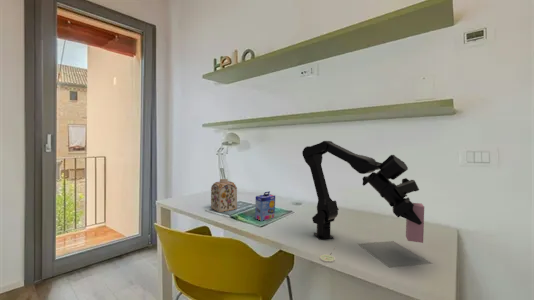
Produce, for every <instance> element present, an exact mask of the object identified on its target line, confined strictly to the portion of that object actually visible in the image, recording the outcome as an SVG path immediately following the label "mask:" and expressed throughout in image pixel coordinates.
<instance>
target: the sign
mask: <svg viewBox="0 0 534 300" xmlns="http://www.w3.org/2000/svg"><path fill="white" fill-rule="evenodd" d="M332 250H333V251H334V250H336V247H334V248H333V249H332ZM319 260H320V261H321V262H323V263H326V264H327V263H329V264H330V263H335V261H336V257H335V256H334V255H332V252H331V253H329V254H326V253H325V254H321V255H319Z"/></svg>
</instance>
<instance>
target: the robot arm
mask: <svg viewBox="0 0 534 300" xmlns="http://www.w3.org/2000/svg"><path fill="white" fill-rule="evenodd" d="M326 153H329V154H331V155H333V156H335V157H336V158H338V159H340V160H342V161H344V162H347V164H349V166H350V167H351V168H352V169H353V170H355V171H356V172H357V173H359V175H360V174H361V175H364V174H368V175H367V176H365V175H364V176H363V177H362V186H363V187H364V186H366V185H367V184H368V183H369V185H370V186H371V187H372V188H373V189H374V190H375V191H376V192H377V193H378V195H379V197H381V198H383V199H384V200H385V201H386V202H387V203H388V206H390V207H392V213H393V214H394V215H395V216H396V218H400V217H401V218H404V219H405V220H406V219H407V220H410V221H412V222H414V223H416V224H418V225H420V224H422V222H421V221H420V219H419V218H418V216H417V215H416V214H415V212H414V211H413V206H414V204H413V203H414V202H413V201H411V199H410V197H408V194H410V193H413V192H418V191H419V190H420V189H419V187H418V184H417V182H416V181H415V180H414V179H408V178H407V177H404V178H402V179H401V183H399V184H397V185H396V184H395V183H394V182H392V181H390V180H394V181H395V180H396V179H397V178H399V177H400V176H401V175H403V174H405V172H406V171H408V170H409V168H408V167H409V166H408V165H407V164H406V163H405V162H404V161H403V160H401V158H398V157H397V156H396V155H395V154H390V155H389V156H388V157H387V158H386V159H385V160H384V161H383V162H380V161H379V162H378V161H377V160H375V158H373V157H369V156H367V155H363V154H358V153H355V152H353V151H351V150H348V149H347V148H344V147H342V146H340V145H339V144H336V143H334V142H333V141H332V140H323V141H322V142H319V143H316V144H313V145H311V146H310V145H309V146H308V145H307V146H305V147H304V148H303V150H302V152H301V154H302V157H303V160H304V162H305V163H306V164H307V165H308V167H309V168H310V172H311V177H312V180H313V183H314V184H313V185H314V188H315V192H316V196H317V206H316V212H317V213H315V214H314V216H312V217H311V219H312V223H313V224H316V232H313V235H314V236H315V237H317V239H318V240H330V239H331V240H332V239H334V236H333V235H332V234H331V223H332V222H335V219H336V218H337V217H338V215H339V207H338V204H337V201H336V200H333V199H332V198H331V197H330V192H329V190H328V186H327V182H326V179H325V174H324V171H323V168H322V164H323V163H322V162H323V155H325V154H326ZM375 171H377V172H375Z"/></svg>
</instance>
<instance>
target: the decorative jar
mask: <svg viewBox="0 0 534 300" xmlns="http://www.w3.org/2000/svg"><path fill="white" fill-rule="evenodd" d="M237 189H238V187H237V186H236V184H235V182H233V181H229V179H228V178H220V179H219V181H216V182H214V183H212V185H211V187H210V209H212V210H214V211H216V212H219V213H222V212H223V213H225V212H230V211H235V210H234V209H236V210H237V209H238V190H237ZM229 210H230V211H229ZM224 211H225V212H224Z"/></svg>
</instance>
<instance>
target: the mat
mask: <svg viewBox="0 0 534 300" xmlns="http://www.w3.org/2000/svg"><path fill="white" fill-rule="evenodd" d="M357 245H358V246H359V247H361V248H362V249H364V251H366V252H368V253H369V254H371V255H372V256H373V257H374V258H375V259H377V260H379V261H380V262H381V263H383V264H384V265H385V266H387V267H388V268H398V267H399V268H401V267H409V266H418V265H419V266H420V265H429V264H432V262H431V261H430V260H428V259H426V258H425V257H423V256H421V255H419V254H417V253H415V252H414V251H412V250H410V249H409V248H406V247H405V246H403V245H401V244H400V243H398V242H396V241H394V240H388V241H378V242H377V241H375V242H365V243H364V242H361V243H357Z"/></svg>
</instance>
